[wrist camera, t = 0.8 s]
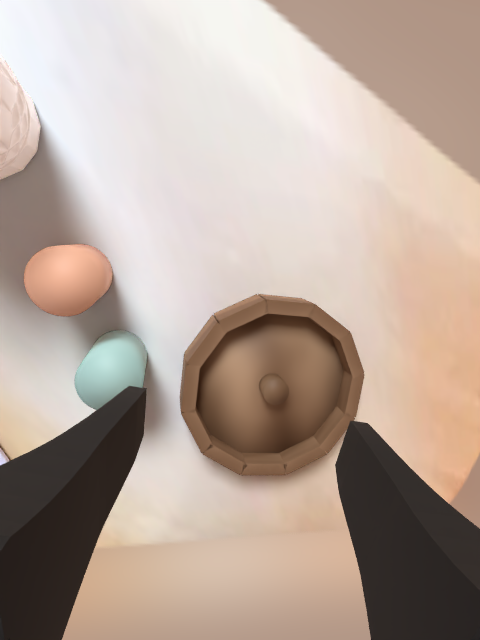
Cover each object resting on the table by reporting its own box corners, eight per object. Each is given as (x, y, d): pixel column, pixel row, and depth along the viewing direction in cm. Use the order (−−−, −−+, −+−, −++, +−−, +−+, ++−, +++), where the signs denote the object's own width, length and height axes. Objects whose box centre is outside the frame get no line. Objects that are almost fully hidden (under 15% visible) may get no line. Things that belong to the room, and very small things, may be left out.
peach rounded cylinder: (69, 310, 26) (47, 327, 21) (39, 258, 24) (9, 262, 20) (122, 287, 26) (113, 298, 21) (95, 234, 25) (78, 234, 20)
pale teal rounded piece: (107, 390, 27) (94, 422, 23) (80, 344, 26) (61, 368, 21) (156, 367, 28) (154, 394, 23) (132, 321, 27) (124, 339, 22)
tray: (223, 483, 31) (228, 504, 29) (150, 342, 27) (149, 352, 25) (366, 412, 32) (382, 426, 30) (316, 267, 28) (329, 269, 26)
